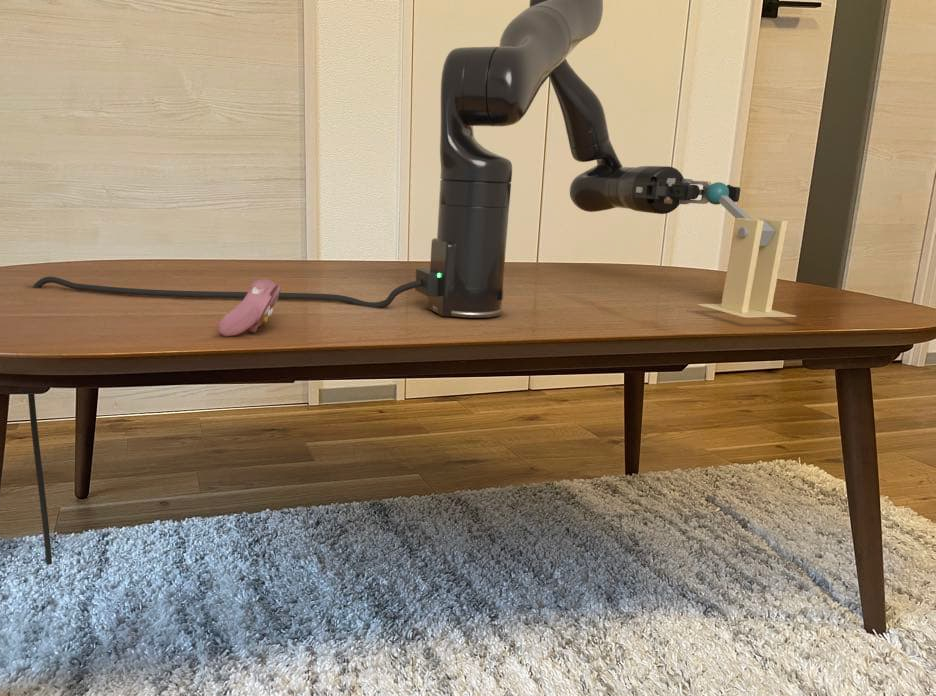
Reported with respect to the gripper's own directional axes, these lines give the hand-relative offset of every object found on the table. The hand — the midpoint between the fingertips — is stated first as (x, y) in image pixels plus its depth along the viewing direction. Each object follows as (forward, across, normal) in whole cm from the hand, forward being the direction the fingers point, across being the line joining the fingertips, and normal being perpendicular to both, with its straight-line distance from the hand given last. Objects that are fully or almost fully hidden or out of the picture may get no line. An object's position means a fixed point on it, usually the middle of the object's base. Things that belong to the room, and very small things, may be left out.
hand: (714, 193), depth 116 cm
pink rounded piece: (+11, -70, +17) cm, 73 cm away
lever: (+5, 0, +4) cm, 6 cm away
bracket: (+10, 0, +17) cm, 20 cm away
